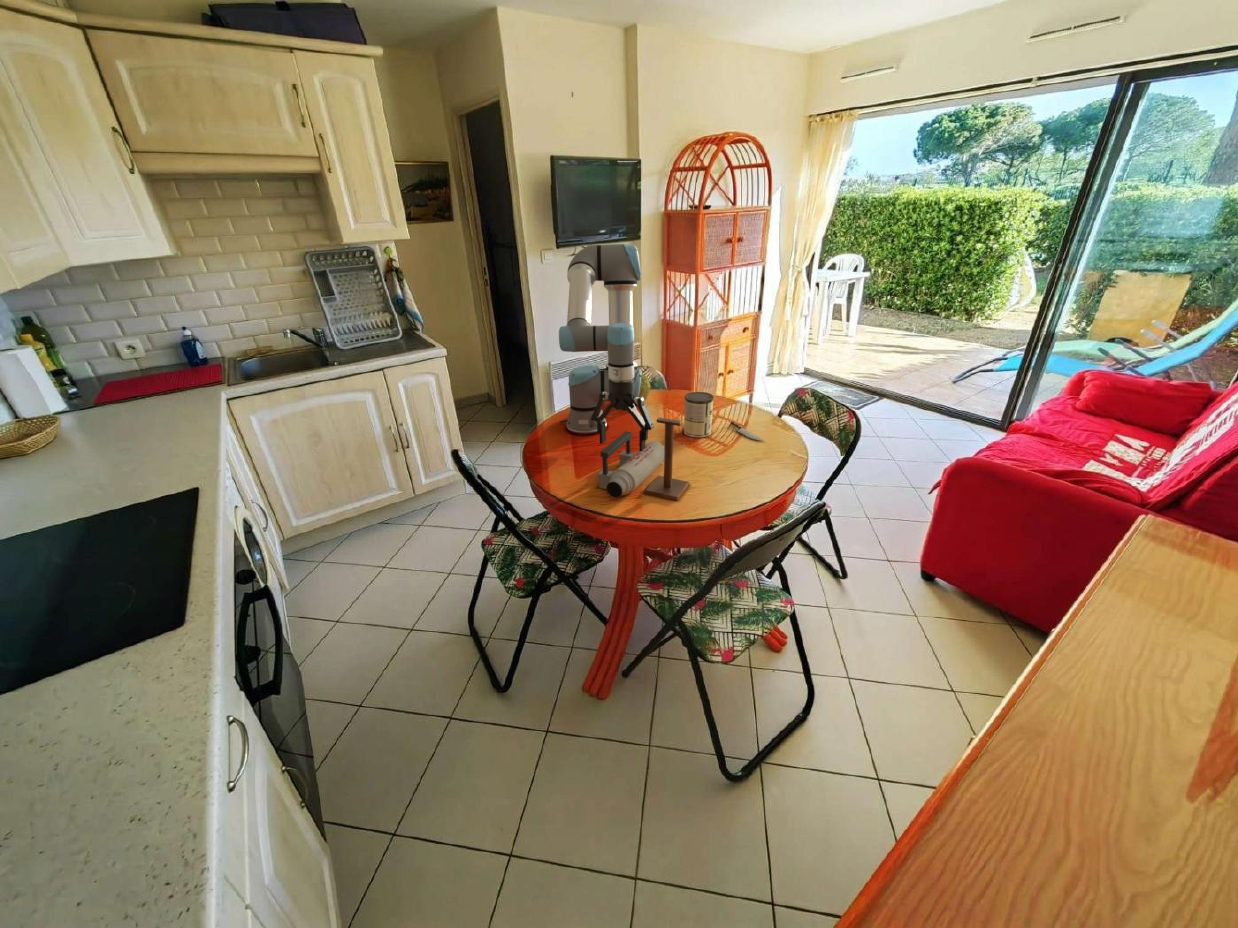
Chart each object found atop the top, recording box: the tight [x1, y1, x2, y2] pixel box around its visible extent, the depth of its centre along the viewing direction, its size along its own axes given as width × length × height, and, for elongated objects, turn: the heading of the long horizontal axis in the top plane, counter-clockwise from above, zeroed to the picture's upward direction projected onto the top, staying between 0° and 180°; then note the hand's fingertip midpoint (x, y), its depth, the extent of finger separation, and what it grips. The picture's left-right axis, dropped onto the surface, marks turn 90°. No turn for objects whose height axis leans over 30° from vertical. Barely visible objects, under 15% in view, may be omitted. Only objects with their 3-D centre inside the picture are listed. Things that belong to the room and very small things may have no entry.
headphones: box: [597, 430, 636, 490], centre depth 156 cm, size 4×17×12 cm, turn 154°
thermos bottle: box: [606, 440, 665, 499], centre depth 154 cm, size 8×8×28 cm
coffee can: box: [683, 391, 715, 438], centre depth 187 cm, size 10×10×14 cm
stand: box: [644, 417, 690, 501], centre depth 147 cm, size 10×10×22 cm
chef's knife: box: [730, 421, 764, 442], centre depth 188 cm, size 19×1×3 cm
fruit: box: [633, 372, 651, 405], centre depth 217 cm, size 16×14×15 cm
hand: (622, 445), depth 157 cm, fingers open, 13 cm apart
